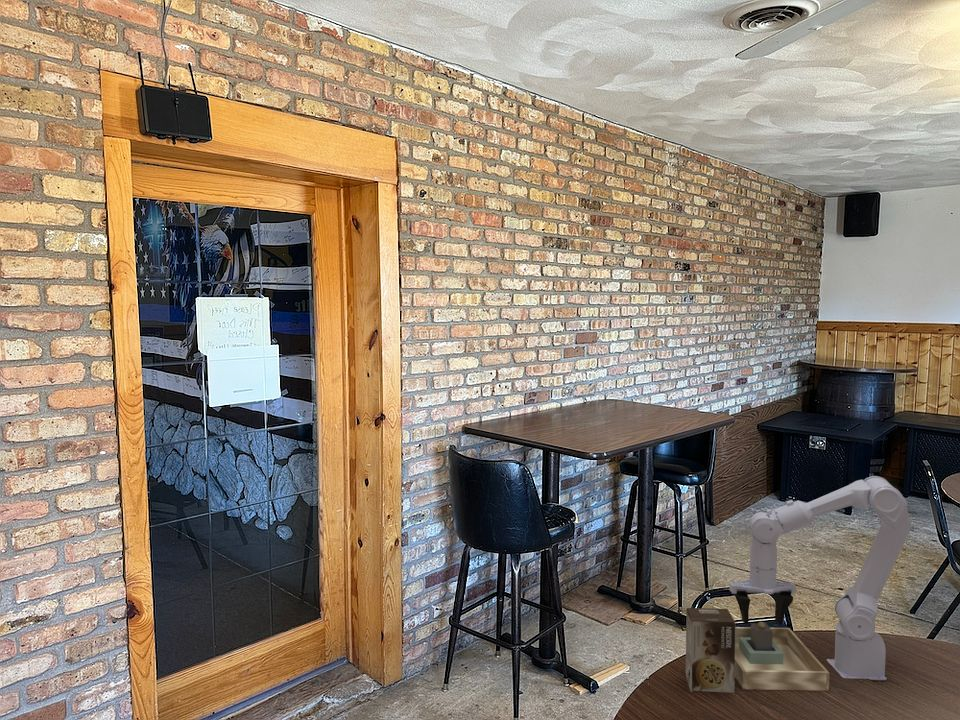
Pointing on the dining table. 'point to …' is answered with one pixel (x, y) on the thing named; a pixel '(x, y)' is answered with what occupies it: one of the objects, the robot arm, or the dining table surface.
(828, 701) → the dining table surface
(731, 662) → the coffee box
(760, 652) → the socket
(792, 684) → the walled box
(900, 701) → the dining table surface
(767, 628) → the plug
